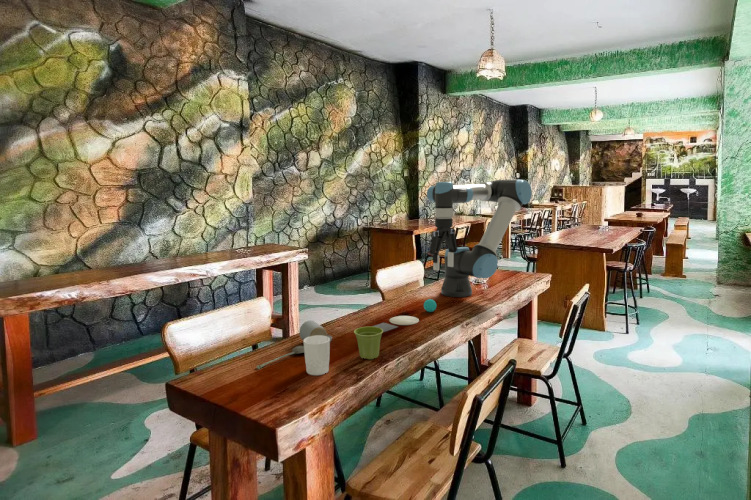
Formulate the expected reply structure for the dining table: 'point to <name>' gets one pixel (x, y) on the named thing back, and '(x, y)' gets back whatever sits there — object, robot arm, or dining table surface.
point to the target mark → (404, 320)
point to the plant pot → (368, 341)
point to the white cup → (317, 354)
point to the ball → (430, 305)
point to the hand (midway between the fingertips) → (443, 268)
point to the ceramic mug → (312, 330)
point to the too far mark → (385, 326)
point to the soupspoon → (294, 351)
